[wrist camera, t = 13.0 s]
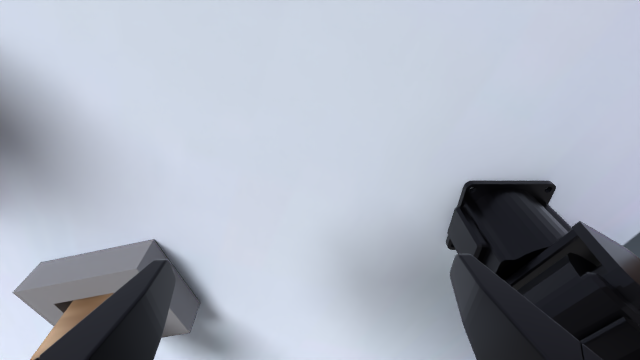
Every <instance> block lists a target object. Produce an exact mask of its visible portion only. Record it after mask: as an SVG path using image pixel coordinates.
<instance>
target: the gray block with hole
mask: <svg viewBox="0 0 640 360" xmlns="http://www.w3.org/2000/svg"><path fill="white" fill-rule="evenodd" d="M156 259H168V258H167V257H166V255H165V254H164V253H163V251H162V250H161V249H160V247H159V246H158V244H157V243H156V242H155V240H154V239H153V240H148V241H143V242H139V243H134V244H129V245H124V246H119V247H114V248H109V249H104V250H100V251H95V252H90V253H85V254H80V255H75V256H70V257H65V258H60V259H56V260H51V261H46V262H41V263H40V264H39V265H38V266H37V267H36V268H35V269H34V270H33V271H32V272H31V273H30V274H29V276H28V277H27V278H26V279H25V280H24V281H23V282H22V283H21V284H20V285H19V286H18V287H17V288H16V289H15V290H14V292H13V293H14V294H15V295H16V296H17V297H18V298H20V299H21V300H22V301H23V302H25V303H26V304H27V305H28V306H30V307H31V308H32V309H33V310H34V311H36V312H37V313H38V314H39V315H41V316H42V317H43V318H44V319H45V320H47V321H48V322H49V323H50V324H52V325H53V326H55V325H56V323H57V322H58V321H59V319H60V318H61V317H62V315H63V314H64V312H65V311H66V310H67V308H68V307H69V306H70V304H71V303H72V301H73V300H78V299H83V298H88V297H94V296H99V295H104V294H110V293H115V292H116V291H117V290H118V289H119V288H121V287H122V286H123V285H124V284H125V283H127V282H128V281H129V280H130V279H131V278H133V277H134V276H135V275H136V274H137V273H139V272H140V271H141V270H142V269H143V268H145V267H146V266H147V265H148V264H149V263H151V262H152V261H153V260H156ZM168 260H169V259H168ZM170 263H171V262H170ZM171 266H172V268H173V271H174V274H175V277H176V284H175V288H174V292H173V296H172V300H171V304H170V308H169V312H168V316H167V320H166V324H165V328H164V331H163V334H162V337H168V336H174V335H180V334H186V333H190V331H191V329H192V326H193V323H194V320H195V317H196V314H197V311H198V308H199V305H200V302H199V300H198V299H197V298H196V296H195V295H194V293H193V292H192V291H191V289H190V288H189V287H188V285H187V284H186V283H185V281H184V280H183V279H182V277H181V276H180V274H179V273H178V272H177V270H176V269H175V268H174V266H173V265H172V264H171ZM162 337H161V338H162Z"/></svg>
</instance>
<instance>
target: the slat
mask: <svg viewBox="0 0 640 360" xmlns="http://www.w3.org/2000/svg"><path fill="white" fill-rule="evenodd" d="M112 294H113V293H110V294H104V295H99V296H94V297H88V298H83V299H78V300H73V301H72V303H71V304H70V306H69V307H68V308H67V310H66V311H65V312H64V314H63V315H62V317H61V318H60V319H59V321H58V322H57V323H56V325H55V326H54V327H53V329H52V330H51V332H50V333H49V334H48V336H47V337H46V338H45V340H44V341H43V343H42V344H41V345H40V347H39V348H38V349H37V351H36V352H35V354H34V355H33V356H32V358H31V359H30V360H34V359H36V358H37V357H39V356H40V355H41V354H42V353H43V352H44V351H45V350H46V349H48V348H49V347H50V346H51V345H52V344H54V343H55V342H56V341H57V340H58V339H60V338H61V337H62V336H63V335H64V334H66V333H67V332H68V331H69V330H70V329H72V328H73V327H74V326H75V325H76V324H78V323H79V322H80V321H81V320H82V319H84V318H85V317H86V316H87V315H88V314H90V313H91V312H92V311H93V310H94V309H96V308H97V307H98V306H99V305H100V304H102V303H103V302H104V301H105V300H106V299H108V298H109V297H110V296H111V295H112Z"/></svg>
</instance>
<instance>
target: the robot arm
mask: <svg viewBox="0 0 640 360" xmlns="http://www.w3.org/2000/svg"><path fill="white" fill-rule="evenodd" d="M471 187H473V188H472V189H470V188H471ZM547 187H548V188H547ZM546 188H547V189H546ZM555 189H556V186H555V185H554V184H553V183H552V182H551V181H469V182H467V183H466V184H465V185H464V187H463V190H462V193H461V196H460V199H459V202H458V206H457V207H456V208H455V210H454V213H453V216H452V219H451V223H450V226H449V229H448V237H447V240H446V245H447V247H448V248H449V249H451V250H456V251H457V253H458V254H457V255H456V256H455V258H454V261H453V264H452V267H451V270H450V278H451V282H452V286H453V289H454V293H455V297H456V300H457V304H458V308H459V311H460V315H461V319H462V322H463V325H464V328H465V331H466V333H467V336H468V339H469V341H470V344H471V346H472V349H473V351H474V354H475V356H476V359H477V360H640V258H638V257H637V256H636V255H635V254H633V253H632V252H631V251H630V250H628V249H627V248H625V247H623V246H622V245H620V244H618V243H617V242H615V241H613V240H612V239H610V238H608V237H606V236H605V235H603V234H601V233H600V232H598V231H596V230H595V229H593V228H591V227H589V226H588V225H586V224H584V223H583V222H581V221H579V222H578V223H577V224H575V225H574V226H573V227H572V228H571V227H570V226H569V225H568V224H567V223H566V222H565V221H564V220H563V219H562V218H561V217H560V216H559V215H558V214H557V213H556V212H555V211H554V210H553V209H552V208H551V207H550V206H549V205H548V203H549V201H550V199H551V197H552V195H553V193H554V191H555ZM175 284H176V277H175V274H174V271H173V268H172V266H171V263H170V261H169V260H168V259H156V260H153V261H152V262H151V263H149V264H148V265H147V266H146V267H145V268H143V269H142V270H141V271H140V272H139V273H137V274H136V275H135V276H134V277H133V278H131V279H130V280H129V281H128V282H127V283H125V284H124V285H123V286H122V287H121V288H119V289H118V290H117V291H116V292H115V293H113V294H112V295H111V296H110V297H109V298H108V299H106V300H105V301H104V302H103V303H102V304H100V305H99V306H98V307H97V308H96V309H94V310H93V311H92V312H91V313H90V314H88V315H87V316H86V317H85V318H84V319H82V320H81V321H80V322H79V323H78V324H76V325H75V326H74V327H73V328H72V329H70V330H69V331H68V332H67V333H66V334H64V335H63V336H62V337H61V338H60V339H58V340H57V341H56V342H55V343H54V344H52V345H51V346H50V347H49V348H48V349H46V350H45V351H44V352H43V353H42V354H41V355H40V356H39V357H37V358H36V359H34V360H153V359H154V357H155V354H156V351H157V348H158V346H159V343H160V340H161V337H162V334H163V331H164V328H165V324H166V320H167V316H168V312H169V308H170V304H171V300H172V296H173V292H174V288H175Z"/></svg>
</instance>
